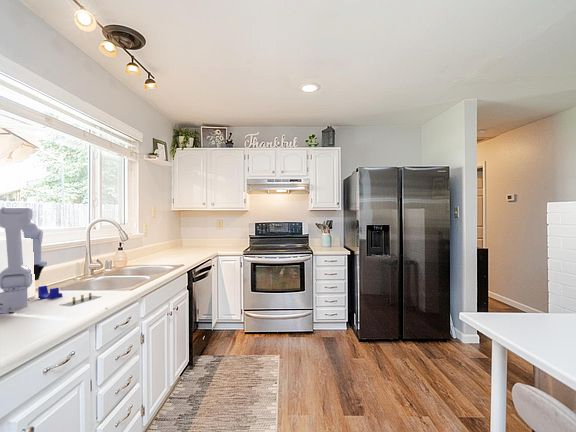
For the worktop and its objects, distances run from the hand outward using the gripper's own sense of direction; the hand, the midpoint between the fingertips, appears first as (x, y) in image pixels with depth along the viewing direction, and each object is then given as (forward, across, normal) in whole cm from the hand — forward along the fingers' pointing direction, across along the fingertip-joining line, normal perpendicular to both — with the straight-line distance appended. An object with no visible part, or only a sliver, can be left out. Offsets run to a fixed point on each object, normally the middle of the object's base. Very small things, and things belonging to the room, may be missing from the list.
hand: (34, 280), depth 152 cm
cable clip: (+9, -12, +1) cm, 15 cm away
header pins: (+7, -34, +3) cm, 35 cm away
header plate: (+8, -34, +3) cm, 35 cm away
